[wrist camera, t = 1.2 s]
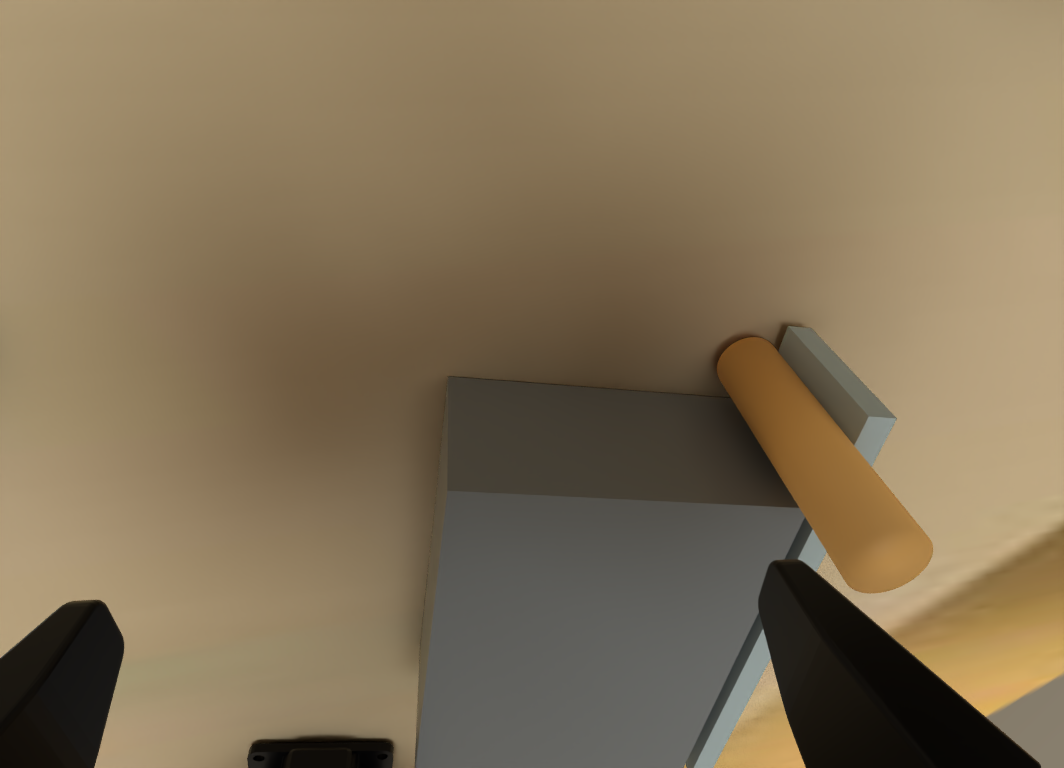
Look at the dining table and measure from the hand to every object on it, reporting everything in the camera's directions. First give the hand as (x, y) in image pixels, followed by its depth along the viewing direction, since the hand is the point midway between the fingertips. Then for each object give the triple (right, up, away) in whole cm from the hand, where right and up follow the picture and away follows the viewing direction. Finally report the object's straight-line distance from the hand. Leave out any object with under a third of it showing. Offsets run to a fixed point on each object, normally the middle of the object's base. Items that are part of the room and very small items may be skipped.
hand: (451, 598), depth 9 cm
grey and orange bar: (+7, -2, +17) cm, 18 cm away
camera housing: (+2, -3, +17) cm, 17 cm away
